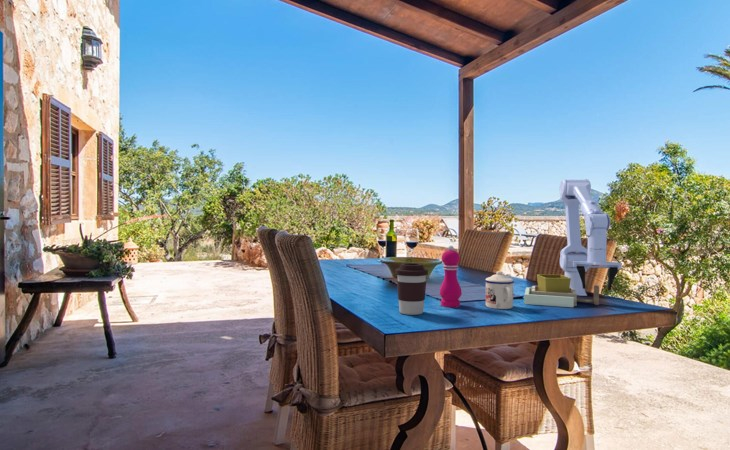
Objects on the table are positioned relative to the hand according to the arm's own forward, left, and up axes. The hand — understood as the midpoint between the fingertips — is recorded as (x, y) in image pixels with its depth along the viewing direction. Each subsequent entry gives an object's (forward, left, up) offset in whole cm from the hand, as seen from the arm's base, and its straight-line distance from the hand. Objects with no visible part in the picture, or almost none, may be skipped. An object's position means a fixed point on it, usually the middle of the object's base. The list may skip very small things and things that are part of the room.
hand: (596, 289), depth 154 cm
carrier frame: (0, -10, -5) cm, 11 cm away
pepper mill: (+21, -46, -5) cm, 50 cm away
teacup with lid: (+18, -30, -5) cm, 35 cm away
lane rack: (0, -15, -5) cm, 16 cm away
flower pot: (0, -14, -5) cm, 15 cm away
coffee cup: (+37, -55, -5) cm, 66 cm away
